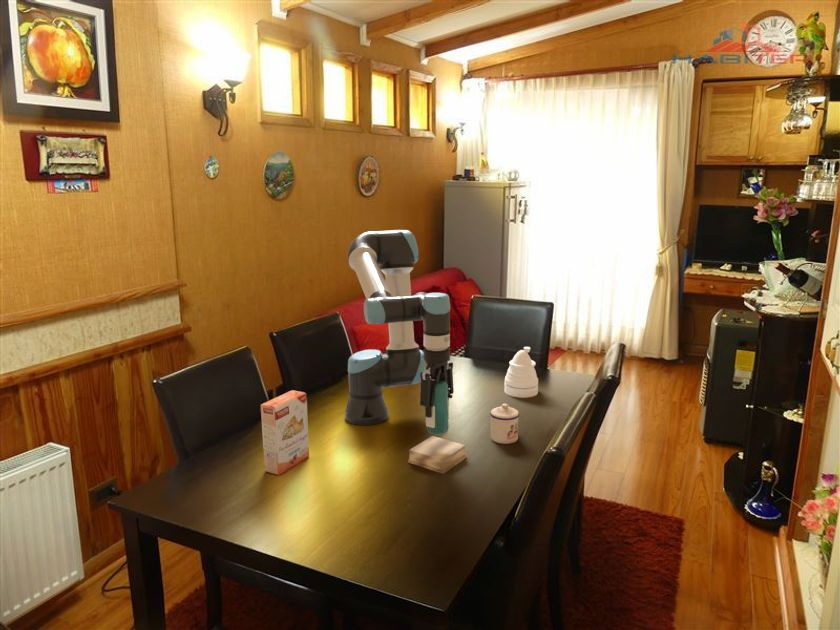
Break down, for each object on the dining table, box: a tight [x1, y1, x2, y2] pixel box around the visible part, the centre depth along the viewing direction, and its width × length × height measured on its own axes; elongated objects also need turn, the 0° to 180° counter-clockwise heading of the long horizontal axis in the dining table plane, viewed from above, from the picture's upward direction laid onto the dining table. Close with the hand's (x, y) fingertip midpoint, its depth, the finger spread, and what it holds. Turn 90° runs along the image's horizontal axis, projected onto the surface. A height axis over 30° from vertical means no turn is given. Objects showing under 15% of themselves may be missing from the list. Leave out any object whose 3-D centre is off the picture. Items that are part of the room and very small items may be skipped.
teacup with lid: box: [490, 403, 520, 445], centre depth 201 cm, size 12×9×12 cm
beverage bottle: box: [426, 371, 450, 435], centre depth 182 cm, size 6×7×20 cm
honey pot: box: [503, 346, 539, 399], centre depth 240 cm, size 13×13×18 cm
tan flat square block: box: [407, 435, 467, 475], centre depth 186 cm, size 13×13×4 cm
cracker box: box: [260, 389, 310, 476], centre depth 183 cm, size 14×6×21 cm, turn 151°
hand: (437, 422), depth 184 cm, fingers closed on beverage bottle, 6 cm apart
